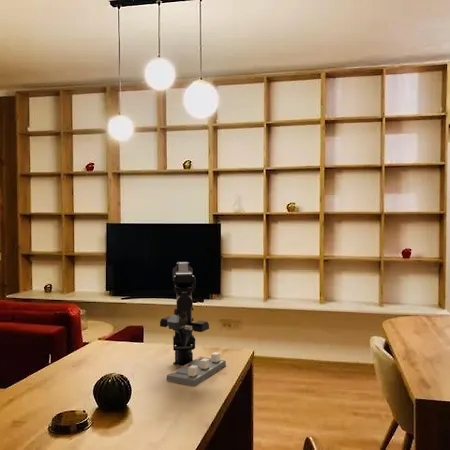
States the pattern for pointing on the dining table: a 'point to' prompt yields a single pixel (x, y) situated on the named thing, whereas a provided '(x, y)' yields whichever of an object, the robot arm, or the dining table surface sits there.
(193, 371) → the switch
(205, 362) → the middle switch
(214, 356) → the far switch
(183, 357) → the robot arm
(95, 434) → the dining table surface
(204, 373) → the breaker panel
